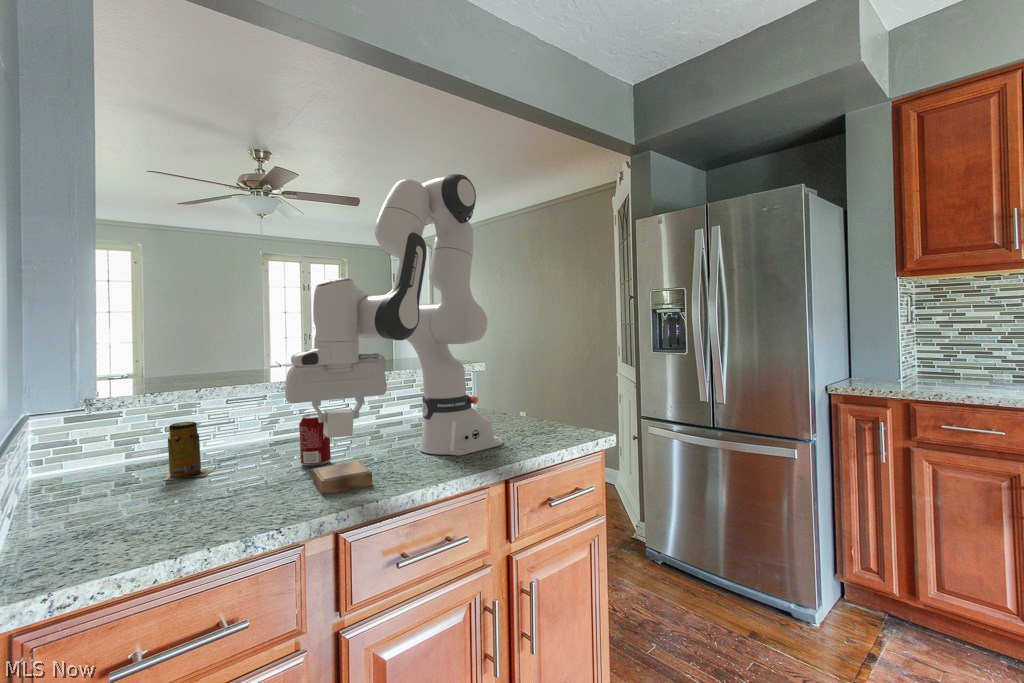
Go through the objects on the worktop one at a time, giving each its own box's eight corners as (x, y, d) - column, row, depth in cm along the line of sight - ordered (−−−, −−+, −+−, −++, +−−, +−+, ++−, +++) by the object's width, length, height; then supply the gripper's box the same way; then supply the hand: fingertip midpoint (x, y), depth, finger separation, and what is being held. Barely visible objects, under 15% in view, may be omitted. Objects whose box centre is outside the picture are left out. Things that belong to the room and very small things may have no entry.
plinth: (359, 472, 109) (359, 459, 109) (372, 485, 101) (371, 471, 101) (313, 481, 104) (312, 468, 104) (322, 495, 95) (321, 480, 95)
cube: (347, 431, 105) (348, 409, 105) (352, 436, 101) (353, 412, 101) (323, 433, 103) (324, 409, 103) (327, 437, 98) (328, 413, 98)
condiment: (175, 471, 114) (173, 421, 113) (215, 468, 116) (213, 418, 115) (161, 481, 107) (158, 428, 106) (204, 477, 109) (201, 425, 108)
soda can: (320, 468, 113) (318, 418, 113) (294, 467, 115) (292, 417, 114) (336, 460, 120) (334, 412, 120) (312, 459, 121) (310, 412, 121)
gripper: (381, 352, 109) (383, 412, 110) (282, 356, 98) (284, 423, 99) (390, 353, 104) (391, 416, 104) (286, 358, 93) (289, 428, 94)
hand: (338, 420), depth 102 cm, fingers closed on cube, 5 cm apart
